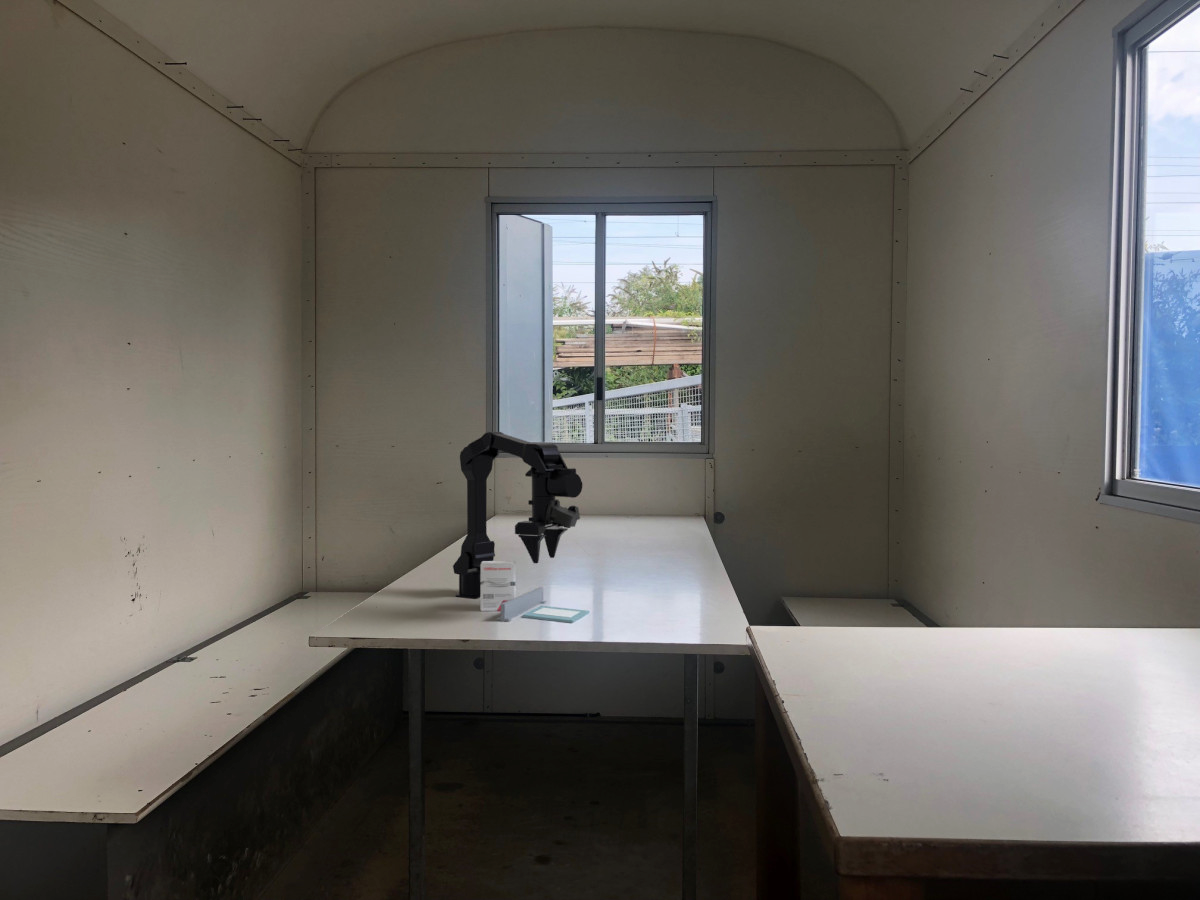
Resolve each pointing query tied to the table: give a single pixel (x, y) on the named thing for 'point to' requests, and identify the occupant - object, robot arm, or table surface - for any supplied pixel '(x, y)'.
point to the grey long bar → (521, 604)
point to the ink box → (496, 584)
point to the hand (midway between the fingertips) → (544, 560)
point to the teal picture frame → (556, 614)
